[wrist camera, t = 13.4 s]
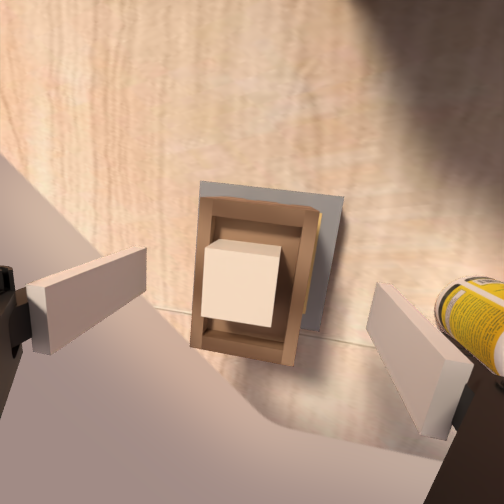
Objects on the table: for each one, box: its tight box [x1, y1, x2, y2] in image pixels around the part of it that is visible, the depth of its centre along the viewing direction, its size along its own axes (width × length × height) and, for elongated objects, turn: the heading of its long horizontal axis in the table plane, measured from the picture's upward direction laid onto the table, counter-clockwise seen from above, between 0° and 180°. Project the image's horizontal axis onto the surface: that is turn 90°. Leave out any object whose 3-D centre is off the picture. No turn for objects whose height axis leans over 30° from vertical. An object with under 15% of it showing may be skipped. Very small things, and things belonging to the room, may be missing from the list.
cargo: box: [201, 239, 281, 327], centre depth 16 cm, size 4×4×3 cm
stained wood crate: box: [190, 196, 320, 366], centre depth 20 cm, size 10×7×7 cm
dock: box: [192, 181, 344, 331], centre depth 25 cm, size 12×12×3 cm
